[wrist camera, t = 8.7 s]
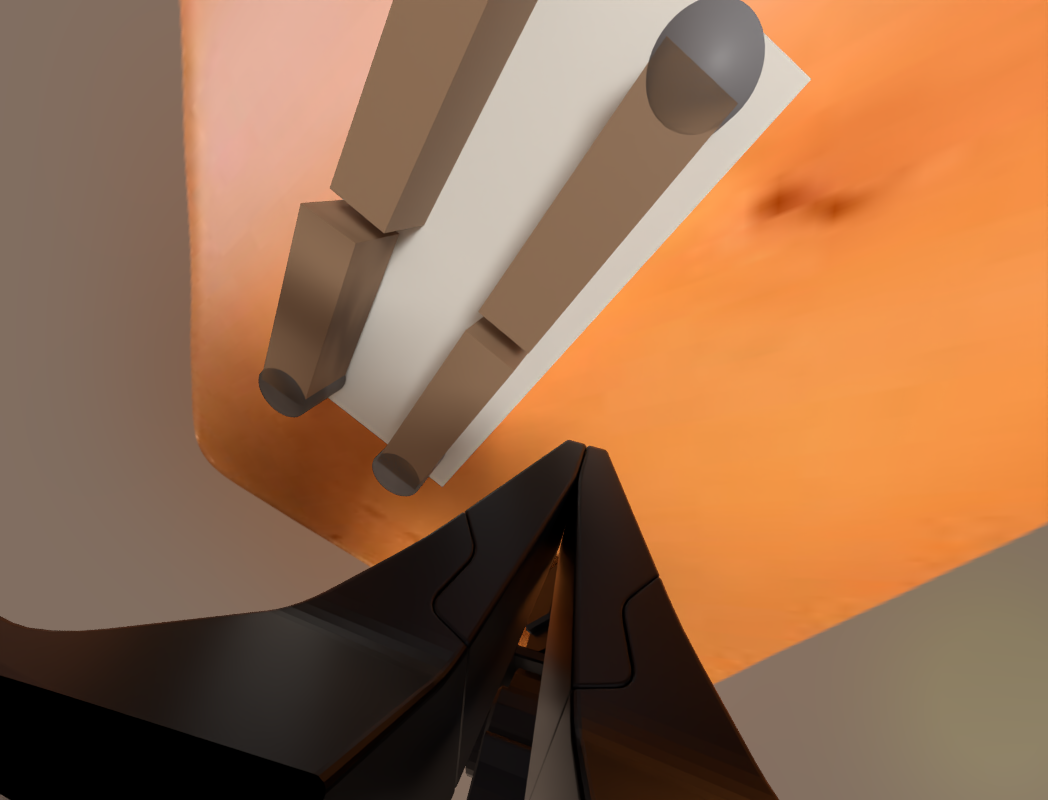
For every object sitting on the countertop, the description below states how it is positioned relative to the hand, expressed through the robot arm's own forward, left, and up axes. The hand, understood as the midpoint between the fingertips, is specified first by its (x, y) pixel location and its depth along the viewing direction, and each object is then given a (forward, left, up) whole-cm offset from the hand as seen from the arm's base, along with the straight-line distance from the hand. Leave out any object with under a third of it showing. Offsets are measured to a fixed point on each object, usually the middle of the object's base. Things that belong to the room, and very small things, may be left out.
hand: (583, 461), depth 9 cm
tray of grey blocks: (+7, +3, -12) cm, 14 cm away
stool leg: (+11, +9, -10) cm, 17 cm away
